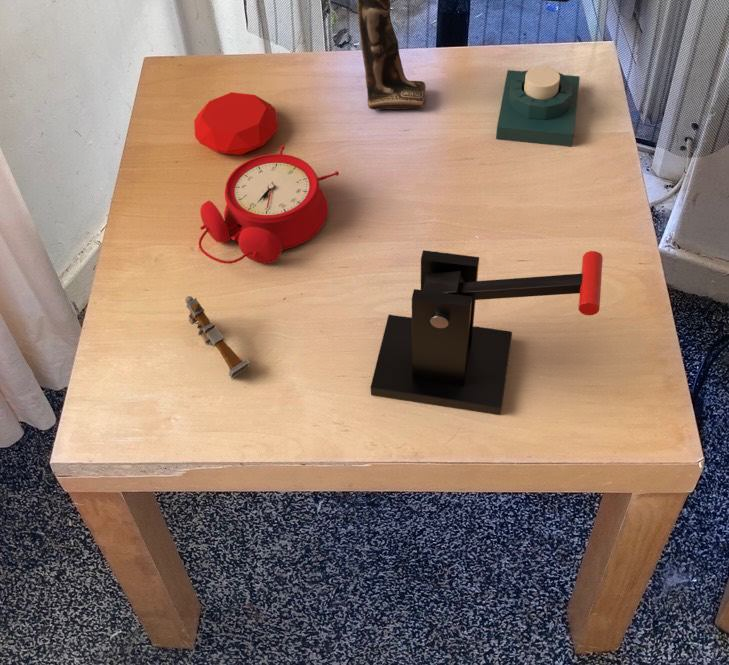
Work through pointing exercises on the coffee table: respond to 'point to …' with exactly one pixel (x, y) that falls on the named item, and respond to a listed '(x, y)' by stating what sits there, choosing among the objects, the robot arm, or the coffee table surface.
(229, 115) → the gemstone
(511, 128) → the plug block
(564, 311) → the coffee table surface
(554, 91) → the power button
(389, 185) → the coffee table surface
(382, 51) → the statue
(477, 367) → the black lever base
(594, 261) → the red handled lever
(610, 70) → the coffee table surface
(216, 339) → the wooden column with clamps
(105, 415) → the coffee table surface
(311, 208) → the alarm clock
